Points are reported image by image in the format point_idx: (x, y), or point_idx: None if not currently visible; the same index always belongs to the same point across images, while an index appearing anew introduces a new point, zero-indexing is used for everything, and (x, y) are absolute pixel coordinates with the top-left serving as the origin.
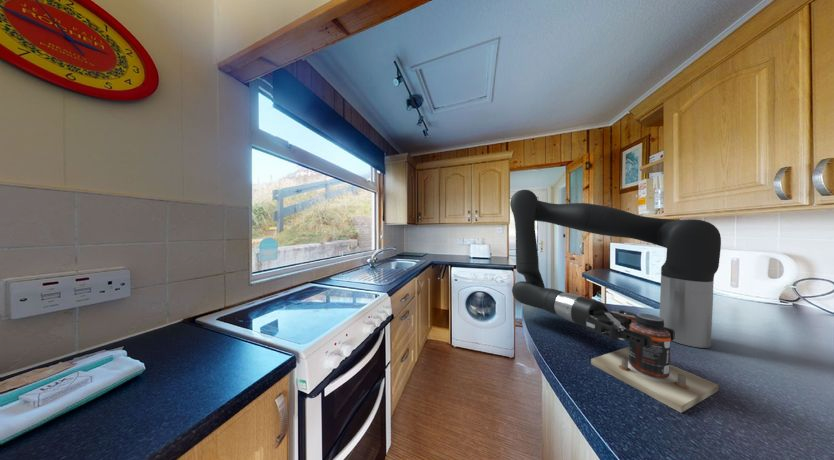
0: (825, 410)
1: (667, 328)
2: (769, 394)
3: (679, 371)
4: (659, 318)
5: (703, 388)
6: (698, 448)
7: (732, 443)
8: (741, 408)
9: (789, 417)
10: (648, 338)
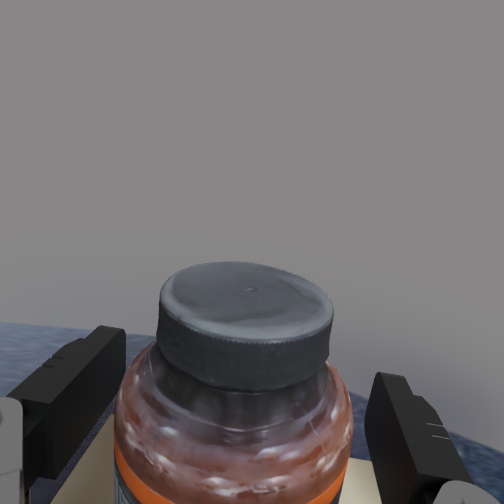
0: (40, 326)
1: (103, 337)
2: (26, 366)
3: (89, 501)
4: (230, 267)
5: None
6: (467, 444)
7: (365, 410)
8: None
9: (134, 356)
10: (402, 378)
